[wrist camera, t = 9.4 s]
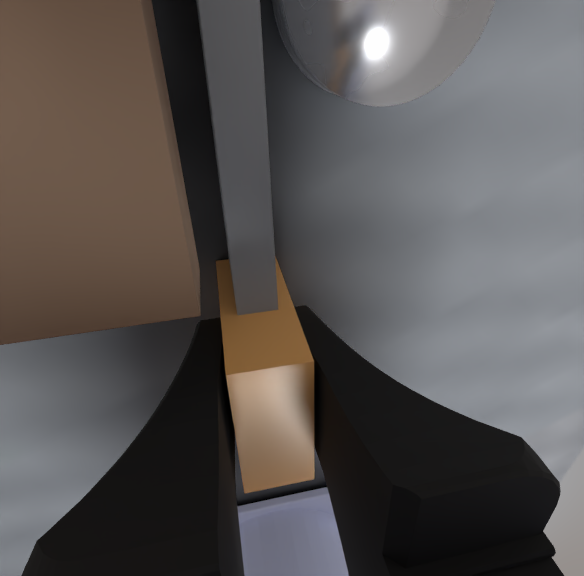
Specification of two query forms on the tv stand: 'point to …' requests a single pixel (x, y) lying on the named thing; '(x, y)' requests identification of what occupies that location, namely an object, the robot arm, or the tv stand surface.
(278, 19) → the silver metal dome
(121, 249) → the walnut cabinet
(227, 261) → the grey handled mallet
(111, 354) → the tv stand surface
